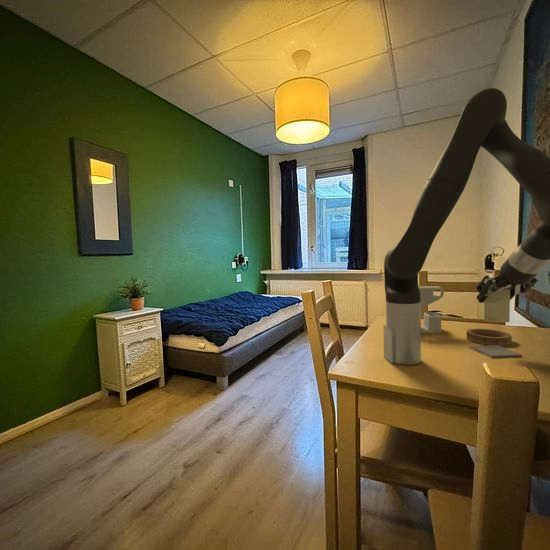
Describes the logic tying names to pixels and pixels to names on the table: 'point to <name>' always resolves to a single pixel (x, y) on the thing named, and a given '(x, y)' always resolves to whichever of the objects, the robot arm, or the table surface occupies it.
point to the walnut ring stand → (489, 337)
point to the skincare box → (497, 306)
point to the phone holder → (430, 318)
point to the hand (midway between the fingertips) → (491, 299)
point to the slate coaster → (496, 351)
